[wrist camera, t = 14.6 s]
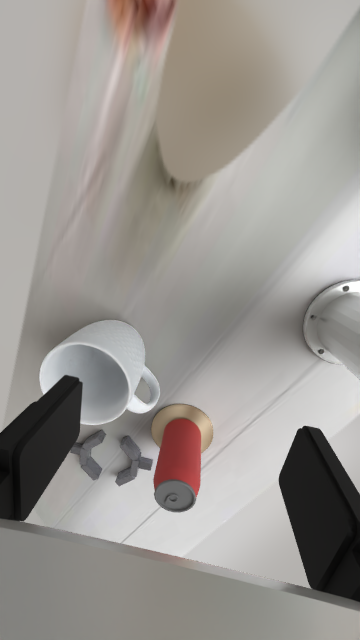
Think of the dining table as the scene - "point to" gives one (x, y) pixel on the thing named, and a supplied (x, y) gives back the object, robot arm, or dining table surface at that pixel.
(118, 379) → the mug
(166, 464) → the beer can
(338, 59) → the dining table surface
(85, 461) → the collar
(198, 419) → the disc
